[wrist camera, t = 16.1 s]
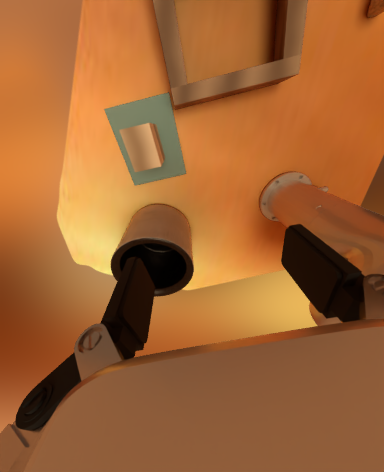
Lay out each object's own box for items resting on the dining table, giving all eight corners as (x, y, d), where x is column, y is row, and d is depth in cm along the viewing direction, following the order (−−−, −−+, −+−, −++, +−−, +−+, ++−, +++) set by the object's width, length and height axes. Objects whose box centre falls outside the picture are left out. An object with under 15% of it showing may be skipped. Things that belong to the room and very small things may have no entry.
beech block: (156, 124, 31) (148, 122, 23) (165, 158, 34) (161, 166, 27) (133, 129, 31) (119, 130, 24) (144, 163, 34) (135, 172, 27)
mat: (168, 92, 29) (168, 92, 28) (186, 173, 36) (186, 173, 36) (105, 109, 29) (104, 109, 29) (135, 185, 37) (134, 185, 37)
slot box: (288, -72, 21) (324, -138, 16) (278, 83, 29) (299, 73, 24) (146, -29, 22) (136, -77, 17) (175, 109, 30) (174, 105, 25)
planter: (128, 198, 39) (103, 233, 26) (194, 206, 41) (201, 242, 28) (131, 250, 47) (113, 296, 34) (185, 254, 50) (188, 299, 37)
